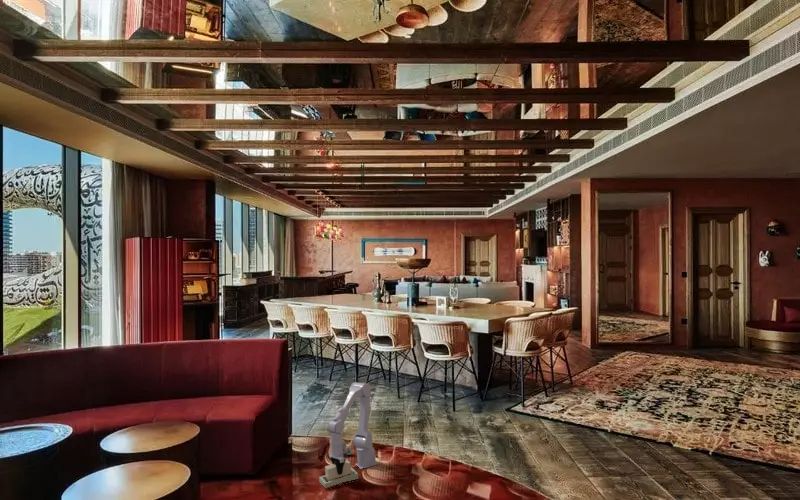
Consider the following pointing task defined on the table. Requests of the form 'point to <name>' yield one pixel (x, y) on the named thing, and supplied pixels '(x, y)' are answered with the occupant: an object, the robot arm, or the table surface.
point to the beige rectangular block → (332, 470)
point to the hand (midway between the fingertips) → (338, 472)
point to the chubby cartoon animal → (346, 448)
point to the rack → (336, 481)
